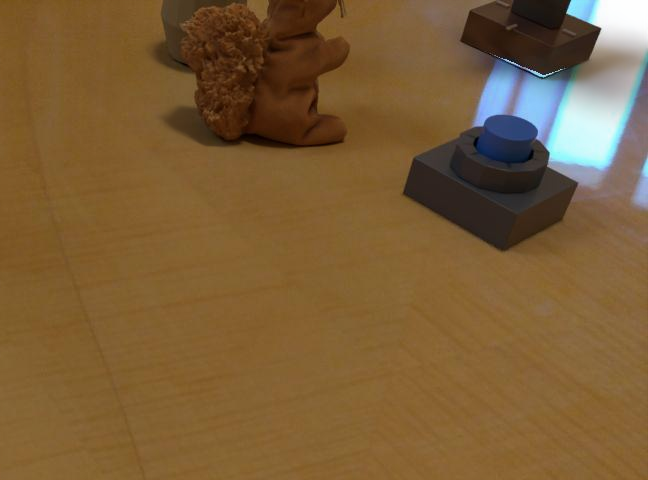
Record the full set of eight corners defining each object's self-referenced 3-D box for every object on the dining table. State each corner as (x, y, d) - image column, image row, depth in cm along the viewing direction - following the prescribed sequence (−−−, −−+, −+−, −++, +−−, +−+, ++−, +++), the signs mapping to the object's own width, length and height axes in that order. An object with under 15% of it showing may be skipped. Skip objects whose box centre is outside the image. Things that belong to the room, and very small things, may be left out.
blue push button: (538, 156, 77) (548, 130, 75) (507, 171, 75) (517, 145, 74) (496, 134, 79) (505, 109, 77) (465, 149, 77) (473, 123, 76)
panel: (592, 57, 100) (606, 25, 98) (538, 80, 96) (551, 47, 94) (510, 21, 105) (521, -11, 102) (456, 42, 101) (466, 9, 98)
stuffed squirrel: (354, 142, 86) (394, -21, 76) (204, 163, 83) (226, -6, 73) (302, 90, 92) (334, -69, 82) (161, 107, 89) (175, -56, 79)
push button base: (562, 219, 80) (588, 160, 76) (502, 251, 76) (526, 192, 73) (463, 165, 85) (483, 107, 81) (402, 193, 81) (419, 135, 77)
